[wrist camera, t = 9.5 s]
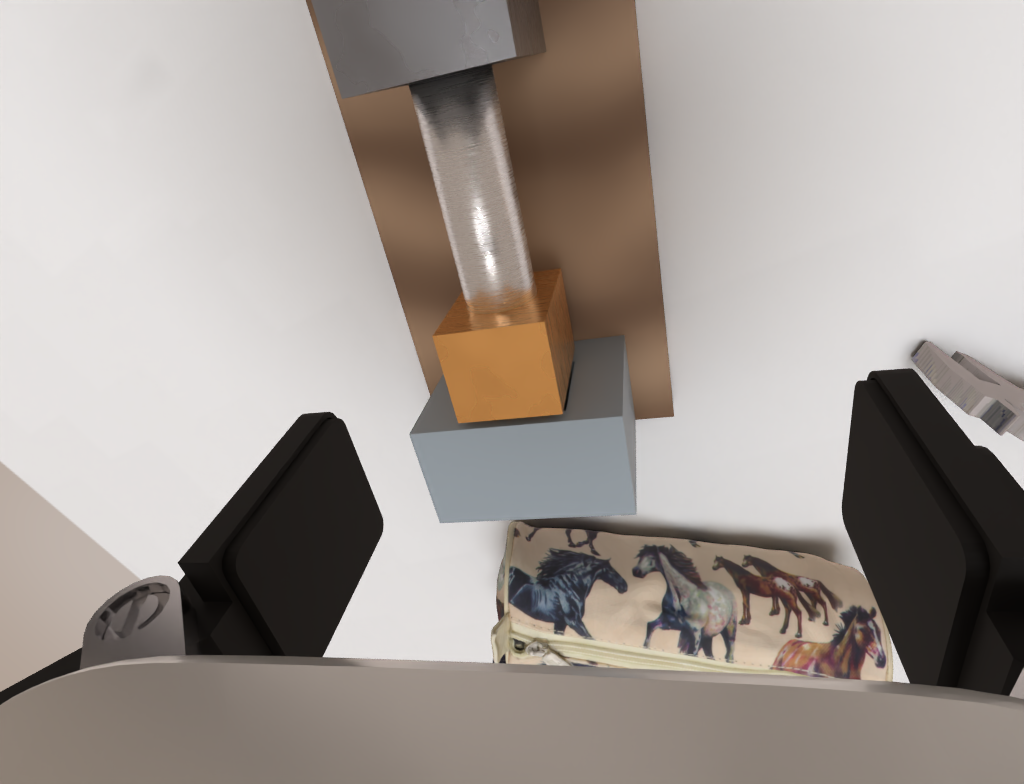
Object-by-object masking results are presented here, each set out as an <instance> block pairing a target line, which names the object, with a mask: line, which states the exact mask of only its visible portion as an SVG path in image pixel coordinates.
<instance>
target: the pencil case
mask: <svg viewBox="0 0 1024 784" xmlns="http://www.w3.org/2000/svg"><path fill="white" fill-rule="evenodd" d="M496 605H497V613H498V619H499V622H498V623H497V624H496V625H495V626H494V627H493V629H492V631H491V644H492V649H493V663H504V664H531V665H557V666H583V667H608V668H631V669H654V670H678V671H701V672H725V673H748V674H769V675H787V676H804V677H821V678H839V679H856V680H873V681H890V682H892V679H893V656H892V647H891V641H890V636H889V631H888V629H887V626H886V624H885V622H884V619H883V617H882V614H881V612H880V609H879V607H878V605H877V602H876V600H875V597H874V595H873V593H872V590H871V588H870V585H869V583H868V581H867V580H866V579H865V577H864V576H863V575H862V574H861V573H860V572H859V571H858V570H856V569H855V568H852V567H848V566H844V565H841V564H838V563H835V562H830V561H827V560H825V559H823V558H821V557H818V556H815V555H811V554H807V553H799V552H790V551H782V550H767V549H761V548H756V547H750V546H741V545H724V544H715V543H707V542H701V541H694V540H688V539H679V538H665V537H645V536H634V535H619V534H612V533H607V532H600V531H591V530H582V529H563V528H536V527H532V526H529V525H527V524H525V523H523V522H521V521H519V522H511V523H510V525H509V527H508V533H507V542H506V550H505V555H504V558H503V560H502V563H501V566H500V569H499V574H498V579H497V596H496Z"/></svg>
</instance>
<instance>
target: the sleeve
mask: <svg viewBox="0 0 1024 784" xmlns="http://www.w3.org/2000/svg"><path fill="white" fill-rule="evenodd" d="M311 1H312V5H313V8H314V11H315V14H316V17H317V21H318V24H319V27H320V30H321V33H322V37H323V40H324V43H325V46H326V50H327V53H328V56H329V59H330V62H331V66H332V69H333V72H334V75H335V78H336V82H337V85H338V88H339V91H340V94H341V98H342V99H345V98H350V97H355V96H359V95H364V94H369V93H374V92H378V91H383V90H388V89H393V88H398V87H402V86H407V85H408V83H412V82H416V81H420V80H424V79H428V78H432V77H437V76H441V75H445V74H449V73H453V72H457V71H461V70H465V69H469V68H473V67H478V66H482V65H486V64H490V63H492V65H494V64H498V63H503V62H507V61H511V60H515V59H519V58H523V57H527V56H531V55H536V54H540V53H544V52H546V46H545V40H544V33H543V27H542V21H541V15H540V8H539V2H538V0H311Z"/></svg>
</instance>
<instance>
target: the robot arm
mask: <svg viewBox="0 0 1024 784" xmlns="http://www.w3.org/2000/svg"><path fill="white" fill-rule="evenodd" d="M842 515H843V521H844V524H845V527H846V530H847V532H848V535H849V537H850V540H851V542H852V544H853V547H854V549H855V552H856V554H857V556H858V559H859V561H860V564H861V566H862V568H863V571H864V573H865V576H866V578H867V581H868V583H869V585H870V588H871V590H872V593H873V595H874V597H875V600H876V602H877V605H878V607H879V609H880V612H881V614H882V617H883V619H884V622H885V624H886V626H887V629H888V631H889V634H890V636H891V638H892V641H893V643H894V646H895V648H896V650H897V653H898V655H899V658H900V660H901V663H902V665H903V667H904V670H905V672H906V675H907V677H908V679H909V682H910V683H900V682H890V681H873V680H856V679H839V678H821V677H804V676H787V675H769V674H748V673H725V672H701V671H678V670H654V669H631V668H608V667H583V666H557V665H531V664H504V663H477V662H449V661H422V660H392V659H360V658H328V657H323V655H324V653H325V651H326V649H327V647H328V645H329V643H330V641H331V638H332V636H333V634H334V632H335V630H336V628H337V626H338V624H339V622H340V620H341V618H342V616H343V614H344V612H345V610H346V608H347V605H348V603H349V601H350V599H351V597H352V595H353V593H354V591H355V589H356V587H357V585H358V583H359V581H360V579H361V577H362V575H363V572H364V570H365V568H366V566H367V564H368V562H369V560H370V558H371V556H372V554H373V552H374V550H375V548H376V546H377V544H378V542H379V539H380V537H381V535H382V532H383V518H382V515H381V512H380V510H379V507H378V505H377V502H376V500H375V497H374V495H373V492H372V490H371V487H370V485H369V482H368V480H367V477H366V475H365V472H364V470H363V467H362V465H361V462H360V460H359V457H358V455H357V452H356V450H355V447H354V445H353V442H352V440H351V437H350V435H349V432H348V430H347V427H346V425H345V423H344V421H343V420H342V419H339V418H337V417H336V416H335V415H334V414H333V413H331V412H322V413H308V414H302V415H301V416H300V417H299V418H298V419H297V420H296V421H295V423H294V424H293V425H292V426H291V427H290V429H289V430H288V431H287V432H286V433H285V435H284V436H283V437H282V438H281V439H280V441H279V442H278V443H277V444H276V445H275V447H274V448H273V449H272V450H271V451H270V453H269V454H268V455H267V456H266V457H265V459H264V460H263V461H262V462H261V463H260V465H259V466H258V467H257V468H256V469H255V471H254V472H253V473H252V474H251V475H250V477H249V478H248V479H247V480H246V481H245V483H244V484H243V485H242V486H241V487H240V489H239V490H238V491H237V492H236V493H235V495H234V496H233V497H232V498H231V499H230V501H229V502H228V503H227V504H226V505H225V507H224V508H223V509H222V510H221V511H220V513H219V514H218V515H217V516H216V517H215V519H214V520H213V521H212V522H211V523H210V525H209V526H208V527H207V528H206V529H205V531H204V532H203V533H202V534H201V535H200V537H199V538H198V539H197V540H196V541H195V543H194V544H193V545H192V546H191V547H190V549H189V550H188V551H187V552H186V553H185V555H184V556H183V557H182V558H181V559H180V561H179V562H178V564H179V565H180V567H181V568H182V570H183V571H184V573H185V575H184V577H183V578H182V579H181V580H180V582H179V583H178V581H177V580H176V579H174V578H172V577H170V576H161V575H160V576H154V577H149V578H146V579H143V580H140V581H138V582H135V583H133V584H131V585H129V586H128V587H126V588H124V589H122V590H121V591H119V592H118V593H116V594H115V595H114V596H112V597H111V598H110V599H108V600H107V601H106V602H105V603H104V604H103V605H102V606H101V607H100V608H99V609H98V610H97V611H96V612H95V613H94V615H93V616H92V618H91V620H90V621H89V622H88V624H87V627H86V629H85V632H84V637H83V647H82V648H80V649H78V650H77V651H75V652H73V653H71V654H69V655H67V656H65V657H64V658H62V659H60V660H58V661H56V662H54V663H53V664H51V665H49V666H47V667H45V668H43V669H42V670H40V671H38V672H36V673H35V674H32V675H31V676H29V677H27V678H25V679H23V680H22V681H20V682H18V683H16V684H14V685H12V686H10V687H9V688H7V689H5V690H3V691H2V692H0V784H1024V490H1023V489H1022V488H1021V487H1020V485H1019V484H1018V483H1017V482H1016V480H1015V479H1014V478H1013V477H1012V476H1011V474H1010V473H1009V472H1008V471H1007V470H1006V468H1005V467H1004V466H1003V465H1002V463H1001V462H1000V461H999V460H998V459H997V457H996V456H995V455H994V454H993V453H992V452H991V451H990V450H989V449H988V448H985V447H982V446H974V445H973V443H972V442H971V441H970V440H969V438H968V437H967V436H966V435H965V433H964V432H963V431H962V429H961V428H960V427H959V426H958V424H957V423H956V422H955V421H954V419H953V418H952V417H951V416H950V414H949V413H948V412H947V411H946V409H945V408H944V407H943V406H942V404H941V403H940V402H939V401H938V399H937V398H936V397H935V395H934V394H933V393H932V392H931V390H930V389H929V388H928V387H927V385H926V384H925V383H924V382H923V380H922V379H921V378H920V377H919V375H918V374H917V373H916V372H915V371H914V370H913V369H910V368H908V369H895V370H881V371H872V372H870V373H869V375H868V378H867V380H865V381H858V382H857V383H856V385H855V390H854V399H853V408H852V417H851V427H850V436H849V445H848V454H847V463H846V472H845V481H844V490H843V499H842Z"/></svg>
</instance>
